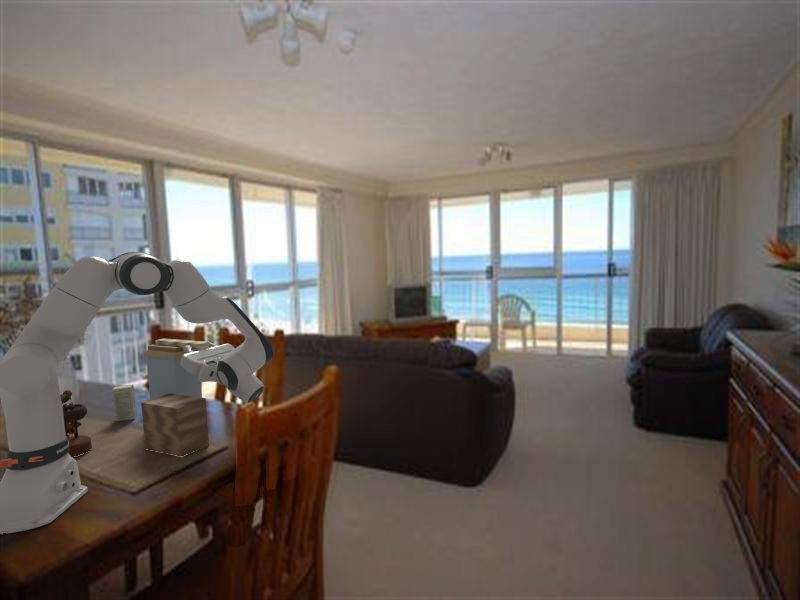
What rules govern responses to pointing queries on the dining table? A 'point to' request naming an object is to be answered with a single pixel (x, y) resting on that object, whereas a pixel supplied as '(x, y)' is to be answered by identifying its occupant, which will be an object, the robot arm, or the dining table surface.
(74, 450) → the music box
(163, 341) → the light wood bar
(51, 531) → the dining table surface
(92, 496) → the dining table surface
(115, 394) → the skincare box
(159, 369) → the chest
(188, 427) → the brown wood grain block
